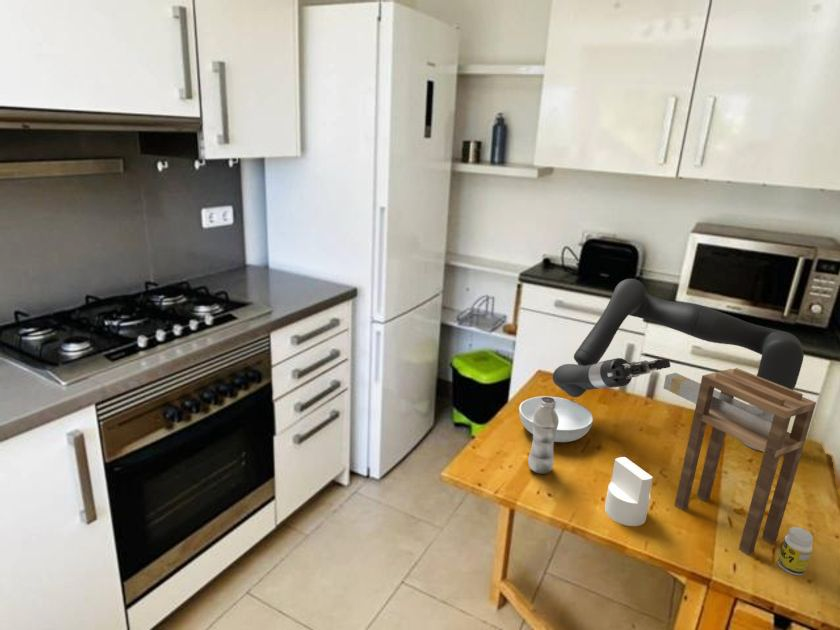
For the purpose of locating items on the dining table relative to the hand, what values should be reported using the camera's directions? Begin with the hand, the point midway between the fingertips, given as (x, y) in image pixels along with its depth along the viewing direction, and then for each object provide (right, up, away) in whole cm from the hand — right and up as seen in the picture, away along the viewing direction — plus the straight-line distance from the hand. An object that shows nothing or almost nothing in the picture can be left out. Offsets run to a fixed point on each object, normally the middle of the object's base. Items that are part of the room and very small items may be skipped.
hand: (657, 365), depth 136 cm
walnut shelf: (+10, -35, -11) cm, 38 cm away
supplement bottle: (+17, -39, -24) cm, 49 cm away
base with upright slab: (-11, -33, -9) cm, 36 cm away
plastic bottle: (-28, -28, +6) cm, 40 cm away
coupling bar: (+8, -9, -13) cm, 18 cm away
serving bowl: (-20, -22, +25) cm, 39 cm away
